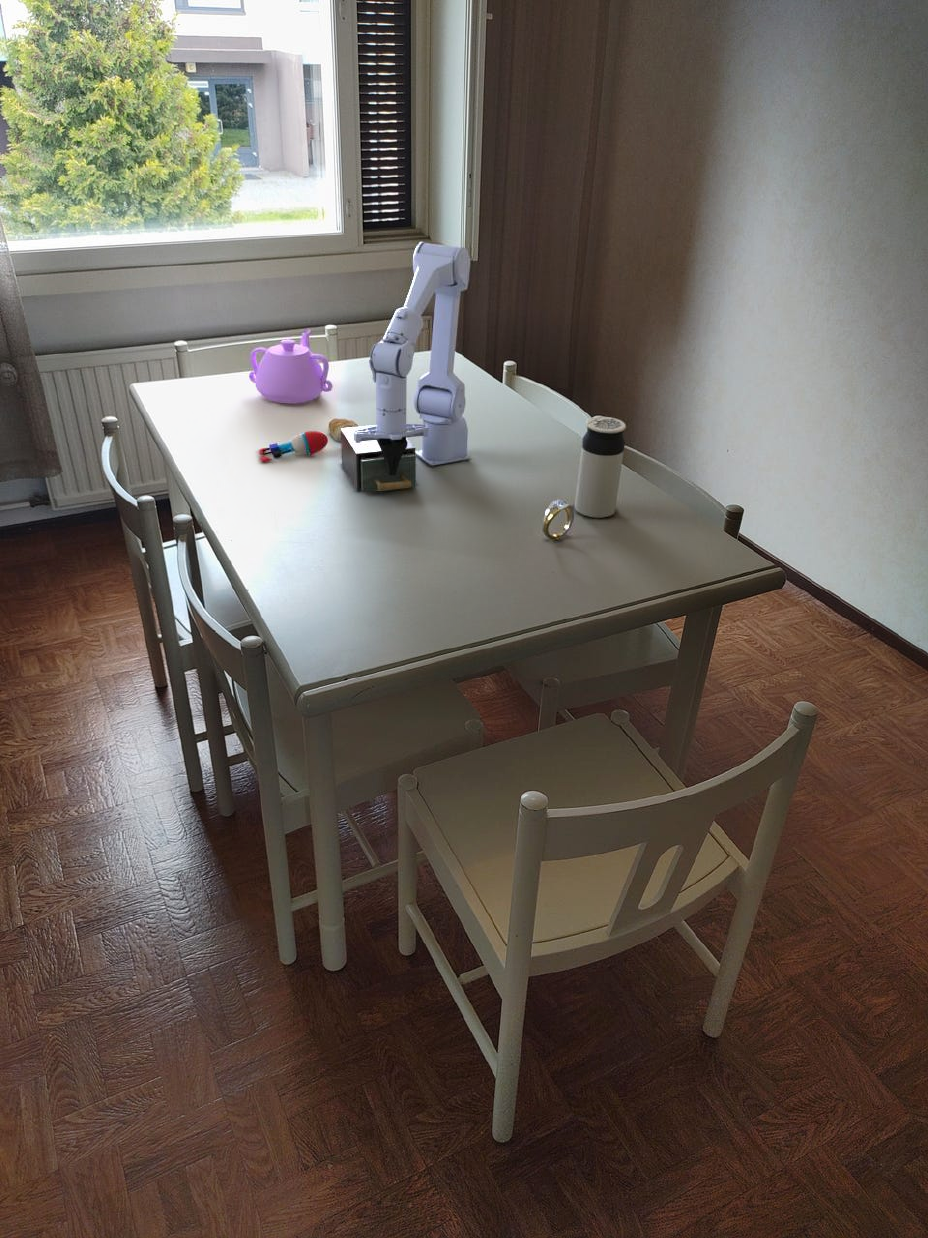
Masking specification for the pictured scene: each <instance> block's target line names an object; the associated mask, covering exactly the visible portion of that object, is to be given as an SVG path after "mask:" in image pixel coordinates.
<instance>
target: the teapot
mask: <svg viewBox="0 0 928 1238" xmlns="http://www.w3.org/2000/svg"><path fill="white" fill-rule="evenodd" d="M310 335H311V328H306V329H305V330H303V332H302V335H301V337H300V343H299V344H298V343H297V344H296V340H294V339H289V338H288V339H287V338H286V339H282V340H281V341H280V344H275V345H273V346H269V348H265V347H256V348H254V349H253V350H251V352H250V355H249V359H250V364H251V367H252V371H250V372H249V374H248V379H249V381H251V382H252V383H253V384H255V388H256V390H257V391H258V393H260V395H261V396H262V397H263V398H264V399H266V400H267V401H270V402H274V403H278V404H302V403H307V402H311V401H313V400H315V399H317V398H318V397H319V396H320V395H321V394H322V393H323V392H325V393H327V392H330V391H332V389H333V383H332V382H331V380H329V379H327V378H328V374H329V369H330V368H329V367H330V365H329V364H330V363H329V360H328V358H327V357H325V356H324V355H323V354H320V353H313V352H312V351H311V347H310V346H311V345H310ZM257 353H261V354H263V356H262V358H261V360H260V362H259V364H258V362H257ZM319 361H320V362H321V364H322V366H321V364H320V362H319Z"/></svg>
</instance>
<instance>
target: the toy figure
mask: <svg viewBox="0 0 928 1238" xmlns="http://www.w3.org/2000/svg"><path fill="white" fill-rule="evenodd" d="M328 442H329V438H328V435H326V434H325V433H323V432H321V431H317V430H308V431H304V433H303V432H302V433H301V434H296V435H294V436H293V437H292V438H291V441H289V442H284V443H281V444H278V443H277V442H275V443H270V444H268V446H269V447H262V448H260V449H259V450H258V454H259V455H260V460H261V463H267V462H270V461H272V460H273V458H274V459H281V458H282V456H283V455H286V454H289V453H295V454H296V455H301V456H302V455H305V454H306V455H310V456H311V455H314V454H317V453H319V452H320V451H321V452H322V450H324V449H325V448H326V446H327V445H328ZM266 455H272V456H273V458H270V457H268V456H266Z"/></svg>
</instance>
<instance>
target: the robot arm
mask: <svg viewBox="0 0 928 1238" xmlns="http://www.w3.org/2000/svg"><path fill="white" fill-rule="evenodd" d="M470 270H471V256H470V255H469V252H468V250H467V248H466V247H464V246H451V245H444V244H437V243H428V242H426V241H420V242H419V243H418V244H417V245H416V247H415V249H414V252H413V258H412V271H413V275H414V276H413V279H412V282H411V285H410V289H409V291H408V293H407V297H406V299H405V303H404V305H403V307H400V308H397V309H396V310H395V311H394V314H393V316H392V318H391V319H390V323H389V324H388V327H387V329H386V331H385V333H384V336H383V337H382V340H380V341H379V342H377V343H375V344H373V346H372V347H371V351H370V354H369V355H370V356H369V357H370V358H369V361H368V362H369V363H368V364H369V368H370V370H371V372H372V381H373V382H374V383H375V412H376V413H375V414H376V415H375V416H376V417H375V418H376V423H375V425H377V426H374V425H372V426H373V427H369V428H365V429H360V430H354V431H353V436H354V441H355V443H356V444H357V443H361V442H363V441H374V440H376V441H377V443H378V445H379V447H380V449H381V451H382V454H383V457H384V460H385V463H386V468H387V473H388V474H389V475H396V473H397V468H398V465H399V462H400V459H401V457H402V455H403V453H404V451H405V449H406V448H407V444H408V442H407V441H406V437H408V438H414V437H422V438H421V439H422V440H421V449H419V450H418V449H417V450H415V456H417V457H419V458H420V459H421V460H422V461H424V463H426V464H427V465H428V466H430V467H435V466H438V465H439V466H440V465H443V464H449V463H450V464H451V463H455V462H460V461H466V460H468V459H469V456H468V438H469V437H468V436H469V434H468V433H469V431H468V430H469V429H468V424H467V421H466V418H465V417H464V416H463V415H464V412H465V409H466V395H465V393H466V386H465V383H464V382H463V381H462V380H461V379H460V378H459V377H458V376H457V375H456V374H455V373H454V367H455V357H456V356H455V355H456V348H457V347H456V345H457V334H458V324H459V312H460V302H461V295H462V294H461V292H463V291H467V290H468V285H469V281H470ZM434 294H435V301H434V311H433V312H434V313H433V326H432V327H433V328H432V336H431V337H432V338H431V349H430V362H429V371H428V372H427V373H425V374H424V375H422V376H421V377H420V378H419V379H418V380H417V386H416V391H415V393H414V398H413V407H414V409H415V412H416V413H417V414H419V419H422V423H407V385H408V384H407V383H408V382H407V381H408V380H407V376H408V375H409V374H410V372H411V370H412V366H413V361H414V355H415V352H416V351H415V349H414V347H415V345H416V343H417V341H418V339H419V336H420V334H421V332H422V329H423V327H424V320H423V318H422V315H423V313H424V312H425V310H426V308H427V306H428V304H429V302H430V301H431V300H432V298H433V296H434Z"/></svg>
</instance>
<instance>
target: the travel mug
mask: <svg viewBox="0 0 928 1238" xmlns="http://www.w3.org/2000/svg"><path fill="white" fill-rule="evenodd" d="M585 426H586V432H585V434H584V435H583V437H582V442H581V451H580V459H579V469H578V476H577V484H576V493H575V501H574V509H575V510H576V511H577V513H579V514H581V515H583V516H586V517H589V518H595V519H601V518H602V519H603V518H607V517H610V516H612V515H614V514H615V512H616V507H617V499H618V493H619V486H620V479H621V473H622V467H623V458H624V452H625V445H626V440H625V438H624V435H623V434H624V431H625V430H626V428H627V425H626V423H625V422H624V421H622V420H621V419H618V418H615V417H609V416H594V417H590V418H588V419H587V420H586V421H585Z"/></svg>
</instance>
